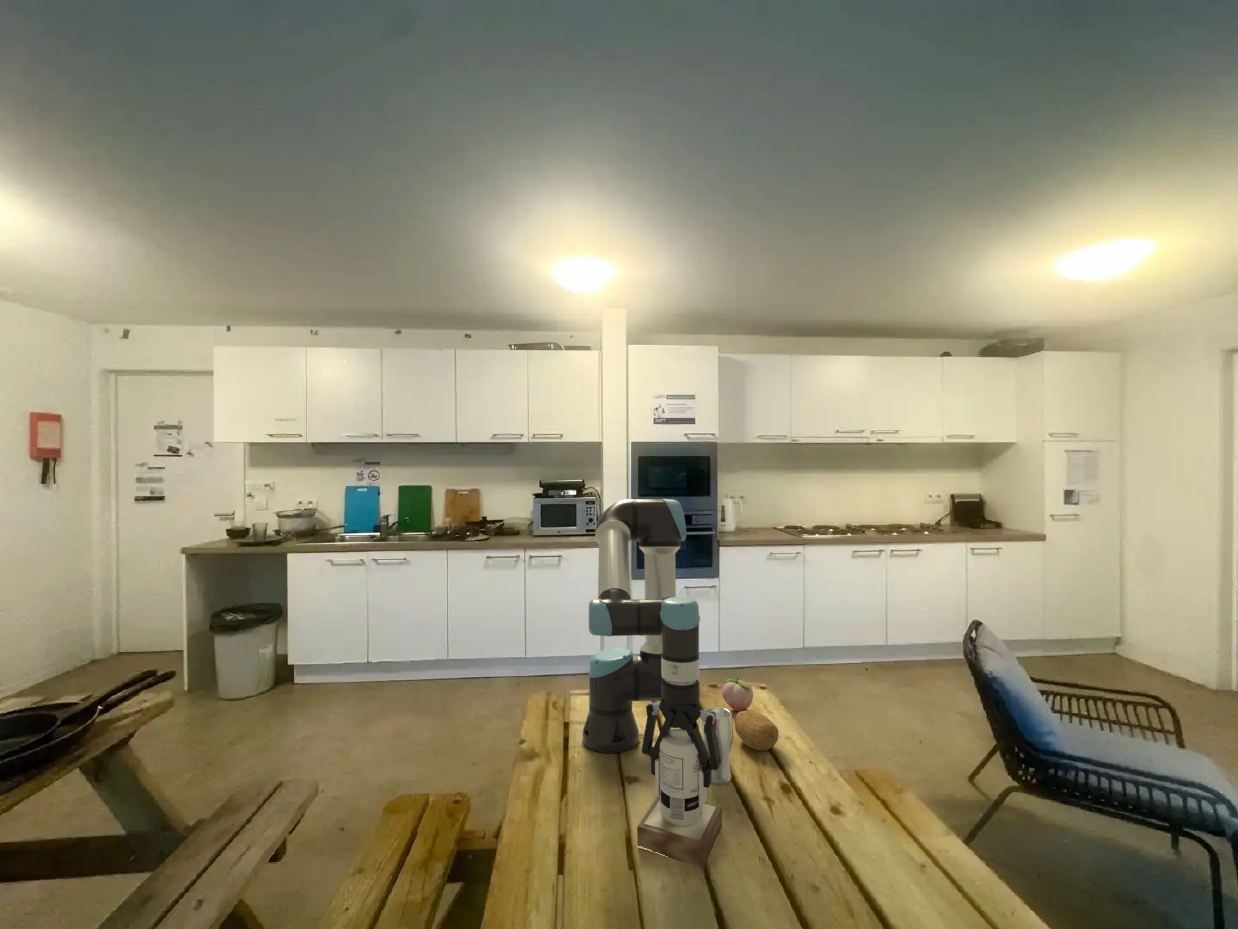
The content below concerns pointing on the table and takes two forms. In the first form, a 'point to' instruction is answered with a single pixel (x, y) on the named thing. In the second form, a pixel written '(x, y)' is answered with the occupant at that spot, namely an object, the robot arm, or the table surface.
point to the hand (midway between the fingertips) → (680, 797)
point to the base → (681, 834)
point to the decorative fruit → (737, 694)
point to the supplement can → (679, 779)
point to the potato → (756, 730)
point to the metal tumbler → (721, 743)
